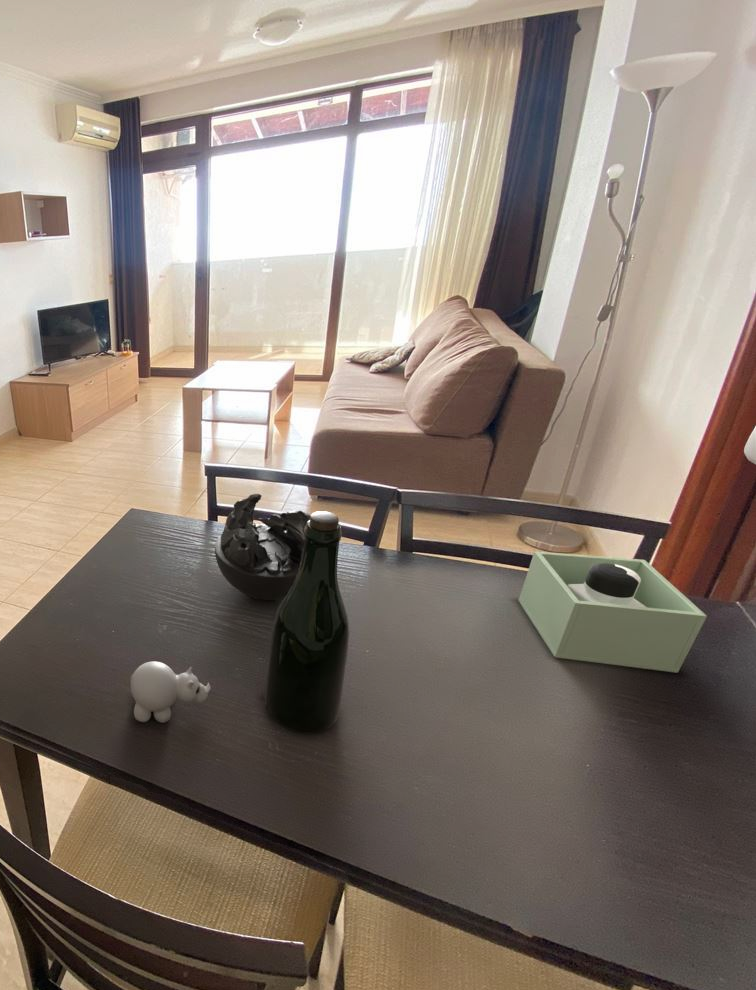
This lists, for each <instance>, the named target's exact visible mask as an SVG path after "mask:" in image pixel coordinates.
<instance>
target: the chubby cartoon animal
mask: <svg viewBox="0 0 756 990" xmlns="http://www.w3.org/2000/svg"><path fill="white" fill-rule="evenodd" d="M129 679H130V692H131V694H132V697H133V699H134V701H135V704H134V708H133V716H134V718H135V720H136V721H138V722H139V723H147V722H148V721H149V720H150V719H151V717H152V712H153V717H154V719H155V720H156V721H157V722H158V723H161V724H163V723H168V721H170V719H171V718H172V717H171V716H172V712H171V706H172V705H173V704H174V703H175V701H176V700H177V699H178V700H180V701H181V702H184V703H191V702H195V703H197V704H201V703H204V702H205V701H206V700H207V699H208V697H209V692H210V691H211V687H212V686H211V684H210V683H209V682H207V684H206V685H204V684H203V683H201V682H199V678H198V677H197V676H196V675H195V674H194V673H193V667H192V666H190V667H189V668H188V669H187V670H186V671H185V672H182V673H179V674H176V673H175V672H174V671H173V669H172V668H171V667H169V666H168V665H167V664H165V663H163V662H161V661H153V660H152V661H148V662H144V663H142V664H141V665H140V666H138V667H137V668H136V669H135V671H134V672H133V674H131V675H130V678H129Z"/></svg>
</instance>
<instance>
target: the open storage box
mask: <svg viewBox="0 0 756 990" xmlns="http://www.w3.org/2000/svg"><path fill="white" fill-rule="evenodd" d="M597 563H610V564H616V565H620V566H623V567H626V568H628V569H630V570H632V571H634V572H635V573H637V574H638V575H639V577H640V578H641V582H640V584H639V587H638V589H637V591H636V593H635V596H634V599H636V600H637V601H638V602H640V603H641V604H643V605H644V606H646V607H638V606H627V605H617V604H607V603H597V602H587V601H579V600H578V599H577V598H576V596H575V595H574V594H573V593H572V591H571V590H570V589H569V588H568V586H567V585H568V584H584V582H585V580H586V577H587V574H588V572H589V569H590V567H591V566H592V565H594V564H597ZM518 602H519V604H520V605H521V607H522V609H523V610H524V612H525V613H526V615H527V616H528V618H529V620H530V621H531V623H532V624H533V626H534V627H535V629H536V630H537V632H538V633H539V635H540V637H541V638H542V640H543V641H544V643H545V645H546V646H547V647H548V649H549V651H550V652H551V654H552V655H553V657H555V658H557V659H565V660H566V659H567V660H573V661H581V662H590V663H598V664H604V665H605V664H606V665H613V666H620V667H629V668H630V667H631V668H637V669H646V670H652V671H661V672H667V673H668V672H669V673H676V674H677V673H680V672H679V671H680V670H681V667H683V664H684V662H685V661H686V658H687V656H688V654H689V652H690V651H691V648H692V646H693V644H694V642H695V641H696V639H697V637H698V636H699V633H700V631H701V629H702V627H703V626H704V623H705V621H706V619H707V617H708V615H707V614H705V613H704V612H703V611H702V610H701V609H700V608H699V607H698V606H696V605H695V603H693V602H692V601H691V600H690V599H689V598H688V597H687V596H686V595H685V594H683V593H682V592H681V591H680V590H679V589H678V588H676V587H675V586H674V585H673V584H672V583H671V582H670V581H669V580H668V579H666V578H665V576H664V575H662V573H660V572H659V571H658V570H656V569H655V568H654V567H653V566H652V565H651V564H650V563H649V562H648V561H647V560H646V559H639V558H625V557H612V556H600V555H587V554H574V553H562V552H561V553H560V552H547V551H536V550H534V552H533V554H532V558H531V561H530V563H529V567H528V570H527V573H526V576H525V579H524V582H523V585H522V588H521V592H520V594H519V598H518Z"/></svg>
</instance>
